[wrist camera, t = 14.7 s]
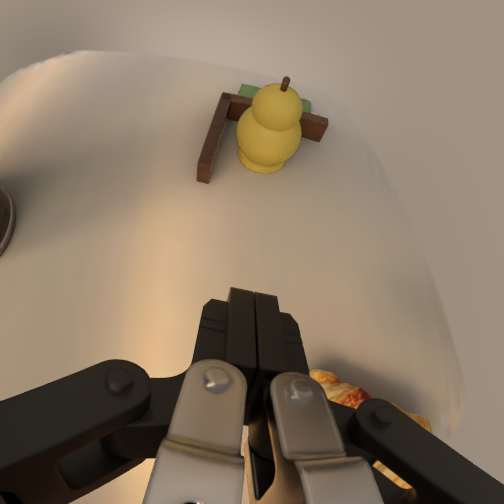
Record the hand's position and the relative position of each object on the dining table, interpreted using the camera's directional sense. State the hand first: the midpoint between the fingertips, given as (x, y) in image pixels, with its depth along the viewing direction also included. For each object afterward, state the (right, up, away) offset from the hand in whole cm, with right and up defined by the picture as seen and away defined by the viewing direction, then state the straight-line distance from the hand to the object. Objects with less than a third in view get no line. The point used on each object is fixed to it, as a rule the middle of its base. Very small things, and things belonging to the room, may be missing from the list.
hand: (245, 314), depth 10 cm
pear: (+1, +12, +23) cm, 26 cm away
